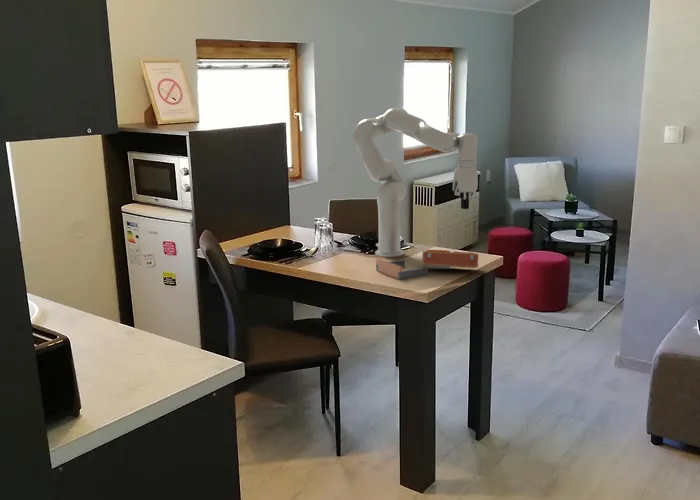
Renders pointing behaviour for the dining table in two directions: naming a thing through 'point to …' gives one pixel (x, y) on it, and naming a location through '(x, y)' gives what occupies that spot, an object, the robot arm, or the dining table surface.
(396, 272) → the docking guide
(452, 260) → the control panel
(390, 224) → the robot arm
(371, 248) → the dining table surface
